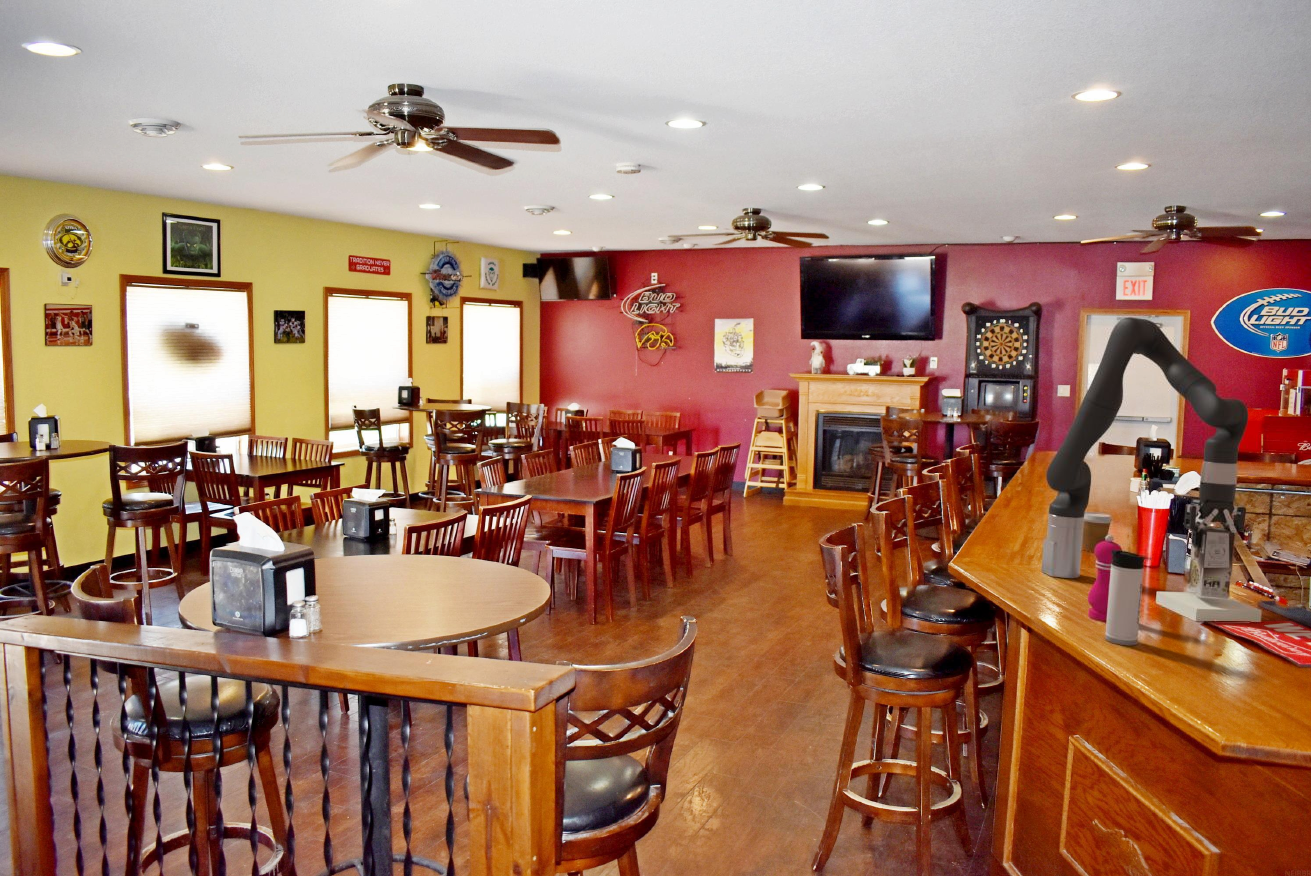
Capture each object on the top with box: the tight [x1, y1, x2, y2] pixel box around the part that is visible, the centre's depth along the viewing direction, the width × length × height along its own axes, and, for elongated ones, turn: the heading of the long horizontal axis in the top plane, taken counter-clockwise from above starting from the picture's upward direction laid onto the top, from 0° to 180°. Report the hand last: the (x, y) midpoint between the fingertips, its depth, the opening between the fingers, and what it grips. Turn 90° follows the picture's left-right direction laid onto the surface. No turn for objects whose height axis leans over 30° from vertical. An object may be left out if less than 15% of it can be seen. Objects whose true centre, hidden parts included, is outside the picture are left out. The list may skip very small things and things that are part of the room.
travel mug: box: [1104, 550, 1145, 647], centre depth 200 cm, size 6×7×20 cm
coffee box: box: [1187, 525, 1236, 599], centre depth 226 cm, size 9×6×16 cm
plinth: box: [1155, 591, 1262, 622], centre depth 227 cm, size 16×16×3 cm
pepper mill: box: [1087, 534, 1123, 622], centre depth 218 cm, size 7×7×20 cm
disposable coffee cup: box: [1082, 511, 1113, 553], centre depth 299 cm, size 10×10×12 cm
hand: (1212, 547), depth 226 cm, fingers closed on coffee box, 7 cm apart
